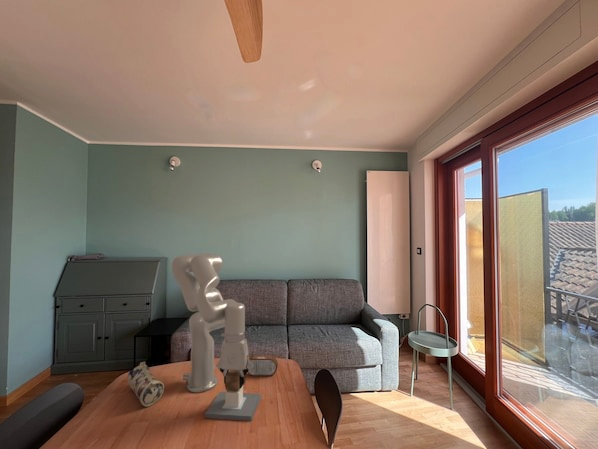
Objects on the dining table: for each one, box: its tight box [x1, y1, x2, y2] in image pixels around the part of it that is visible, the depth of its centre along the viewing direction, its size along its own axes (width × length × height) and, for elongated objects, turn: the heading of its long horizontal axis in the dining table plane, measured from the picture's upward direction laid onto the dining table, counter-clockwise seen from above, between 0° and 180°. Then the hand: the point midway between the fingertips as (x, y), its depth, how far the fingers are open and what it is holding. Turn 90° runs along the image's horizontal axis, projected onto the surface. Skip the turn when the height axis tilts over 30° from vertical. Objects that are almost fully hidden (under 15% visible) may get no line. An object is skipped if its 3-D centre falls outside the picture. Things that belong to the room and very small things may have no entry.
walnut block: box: [225, 370, 240, 391], centre depth 97 cm, size 5×5×5 cm
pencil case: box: [127, 361, 165, 408], centre depth 104 cm, size 22×8×10 cm, turn 46°
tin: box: [245, 355, 279, 377], centre depth 119 cm, size 15×3×8 cm, turn 89°
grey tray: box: [204, 391, 262, 422], centre depth 96 cm, size 17×13×2 cm
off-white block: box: [225, 385, 244, 407], centre depth 96 cm, size 5×5×5 cm
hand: (234, 385), depth 97 cm, fingers closed on walnut block, 4 cm apart
